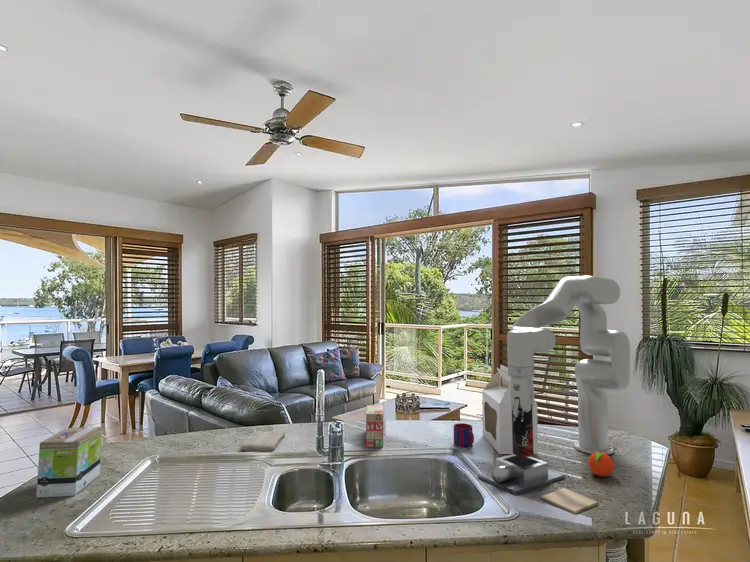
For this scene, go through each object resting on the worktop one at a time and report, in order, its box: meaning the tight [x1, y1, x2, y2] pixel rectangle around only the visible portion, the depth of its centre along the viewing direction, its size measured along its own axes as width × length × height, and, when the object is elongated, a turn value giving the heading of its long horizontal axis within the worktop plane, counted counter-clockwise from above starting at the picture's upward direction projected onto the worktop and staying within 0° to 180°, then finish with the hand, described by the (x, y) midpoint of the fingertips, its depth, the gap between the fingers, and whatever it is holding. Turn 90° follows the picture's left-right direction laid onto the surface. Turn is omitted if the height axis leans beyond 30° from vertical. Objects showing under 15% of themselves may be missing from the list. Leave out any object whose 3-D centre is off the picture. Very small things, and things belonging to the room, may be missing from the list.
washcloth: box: [241, 429, 286, 452], centre depth 165 cm, size 12×18×3 cm, turn 179°
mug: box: [453, 422, 475, 449], centre depth 162 cm, size 7×10×7 cm
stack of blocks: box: [365, 404, 384, 448], centre depth 171 cm, size 21×6×12 cm, turn 0°
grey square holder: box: [477, 454, 566, 496], centre depth 133 cm, size 22×14×5 cm, turn 123°
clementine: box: [587, 452, 615, 478], centre depth 135 cm, size 8×7×7 cm
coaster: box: [540, 487, 599, 515], centre depth 118 cm, size 10×10×1 cm
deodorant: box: [512, 404, 535, 457], centre depth 134 cm, size 6×6×15 cm
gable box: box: [481, 364, 539, 456], centre depth 165 cm, size 22×13×28 cm, turn 2°
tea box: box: [36, 426, 103, 498], centre depth 127 cm, size 15×10×15 cm, turn 9°
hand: (522, 430), depth 134 cm, fingers closed on deodorant, 6 cm apart
